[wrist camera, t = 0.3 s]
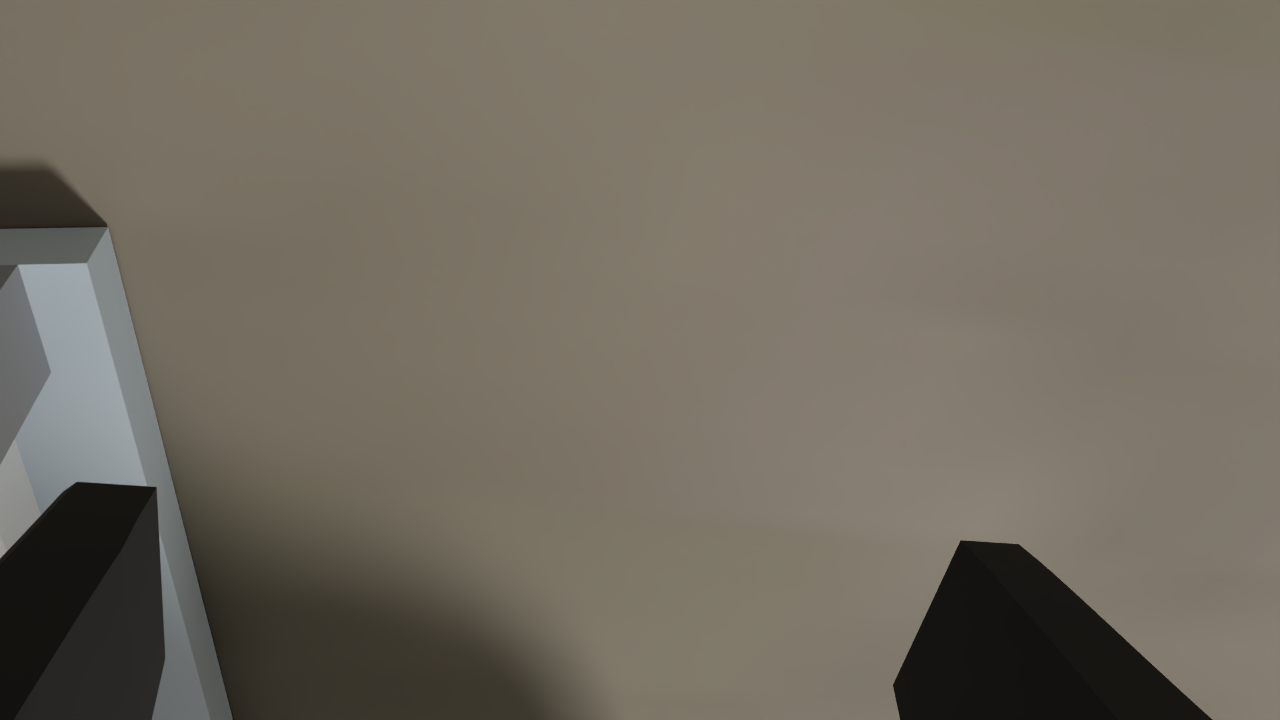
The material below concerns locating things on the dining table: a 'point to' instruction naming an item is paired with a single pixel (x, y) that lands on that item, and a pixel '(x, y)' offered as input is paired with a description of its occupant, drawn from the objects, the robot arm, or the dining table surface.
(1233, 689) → the dining table surface
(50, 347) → the gauge bench
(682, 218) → the dining table surface
